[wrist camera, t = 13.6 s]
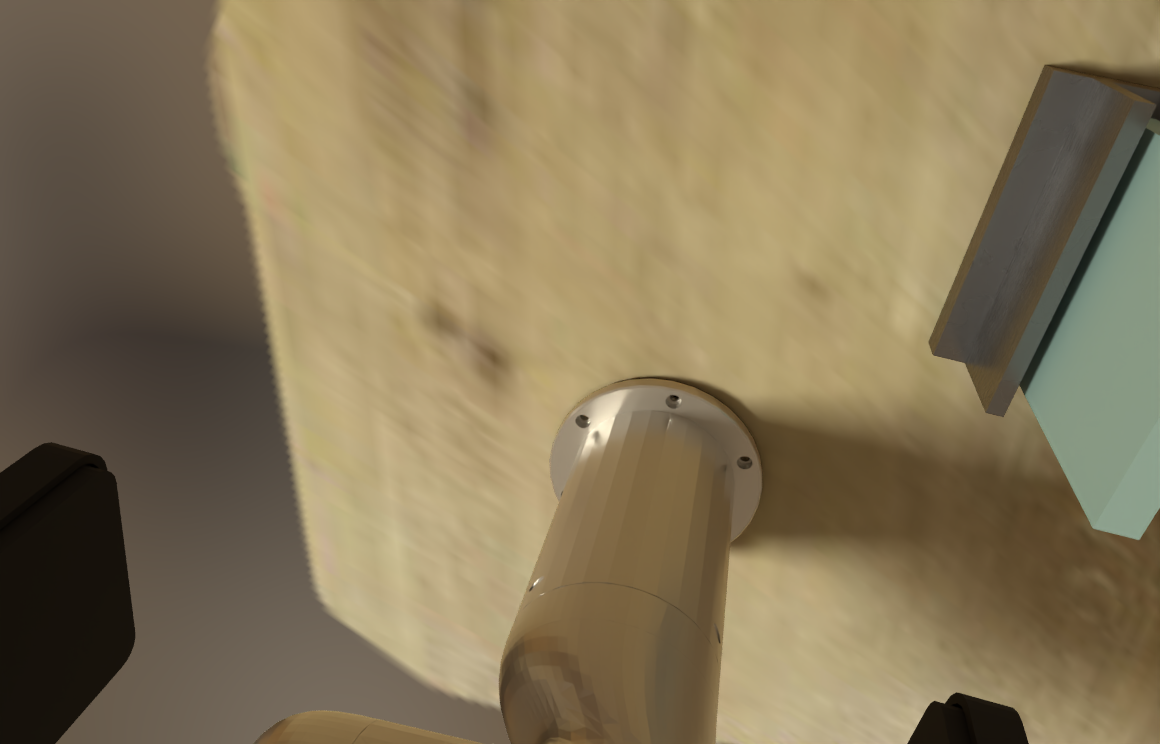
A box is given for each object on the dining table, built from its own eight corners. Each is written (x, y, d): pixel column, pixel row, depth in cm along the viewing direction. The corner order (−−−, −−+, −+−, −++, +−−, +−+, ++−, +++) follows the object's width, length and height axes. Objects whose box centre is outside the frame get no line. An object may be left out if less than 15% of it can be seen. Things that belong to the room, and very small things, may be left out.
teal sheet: (1036, 361, 43) (1139, 540, 30) (1003, 354, 43) (1093, 528, 31) (1156, 119, 37) (1343, 220, 24) (1117, 111, 37) (1284, 207, 25)
